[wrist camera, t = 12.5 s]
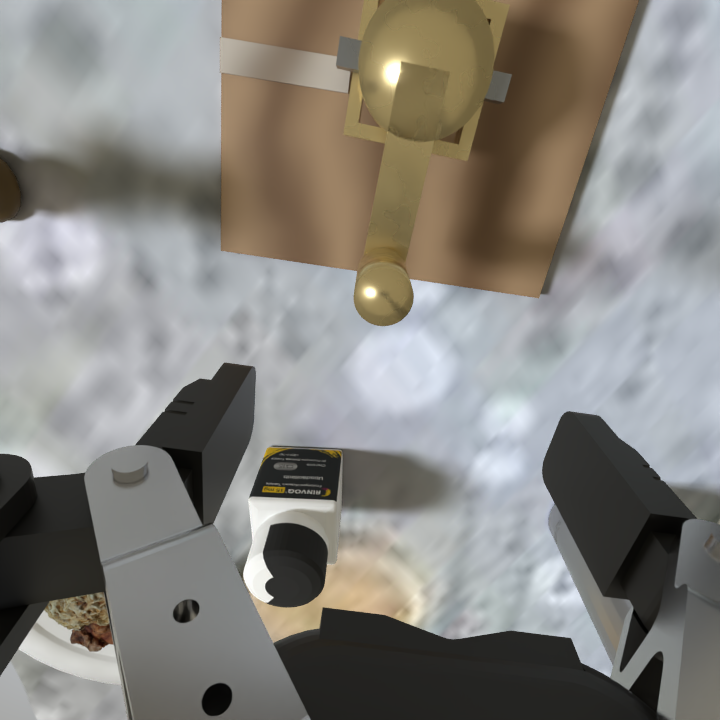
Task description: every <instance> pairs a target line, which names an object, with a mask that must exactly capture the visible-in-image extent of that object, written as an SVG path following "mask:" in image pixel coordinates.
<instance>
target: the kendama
mask: <svg viewBox="0 0 720 720" xmlns="http://www.w3.org/2000/svg"><path fill="white" fill-rule="evenodd" d="M20 204H21V192H20V189H19V185H18V182H17V179H16V176H15V175H14V173H13V172H12V171H11V169H10V168H9V166H8V165H7V163H6V162H4V161H3V160H2V159H0V222H5V221H7V220H9V219H12V218H14V217H15V216H16V214H17V212H18V210H19V208H20Z"/></svg>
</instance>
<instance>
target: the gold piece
mask: <svg viewBox="0 0 720 720" xmlns="http://www.w3.org/2000/svg"><path fill="white" fill-rule="evenodd" d="M379 6H380V7H379ZM509 6H510V5H509V4H504V3H500V2H496V1H491V0H364V3H363V9H362V16H361V22H360V29H359V35H358V40H356V39H352V38H347V37H343V36H340V39H339V46H338V53H337V61H336V67H337V69H341V70H346V71H350V72H353V75H352V81H351V88H350V94H349V101H348V107H347V114H346V120H345V127H344V133H343V135H345V136H349V137H353V138H358V139H363V140H367V141H372V142H377V143H382V144H385V145H384V151H383V156H382V161H381V166H380V171H379V177H378V182H377V187H376V192H375V197H374V203H373V208H372V213H371V218H370V223H369V229H368V234H367V239H366V244H365V249H364V255H363V257H362V258H361V260H360V262H359V265H358V270H357V277H356V283H355V290H354V304H355V307H356V310H357V311H358V313H359V314H360V316H361V317H362V318H363V319H364V320H366V321H367V322H369V323H371V324H374V325H378V326H389V325H393V324H395V323H397V322H399V321H401V320H402V319H403V318H404V317H406V315H407V314H408V313H409V311H410V309H411V307H412V304H413V297H414V296H413V289H412V286H411V282H410V279H409V275H408V271H407V268H406V264H405V262H406V258H407V254H408V250H409V245H410V241H411V237H412V233H413V228H414V224H415V220H416V216H417V211H418V207H419V203H420V199H421V194H422V190H423V186H424V182H425V178H426V173H427V169H428V165H429V161H430V156H431V154H433V155H438V156H443V157H448V158H452V159H457V160H463V161H468V157H469V154H470V150H471V146H472V143H473V139H474V135H475V132H476V128H477V124H478V120H479V117H480V113H481V109H482V106H483V102H484V101H486V102H491V103H495V104H501V103H504V101H505V97H506V94H507V90H508V87H509V83H510V80H511V76H512V74H508V73H503V72H499V71H494V70H493V69H494V61H495V58H496V54H497V50H498V47H499V43H500V39H501V36H502V32H503V28H504V25H505V21H506V17H507V14H508V10H509ZM363 101H364V102H365V104H366V107H367V109H368V111H369V113H370V115H371V116H372V117H373V119H374V120H375V122H376V123H377V124H378V125H379V126H380V127H381V128H380V127H375V126H370V125H366V124H361V123H360V119H361V113H362V107H363ZM454 132H456V135H455V139H454V143H450V142H445V141H440V140H439V139H442V138H444V137H447V136H449V135H451V134H453V133H454Z"/></svg>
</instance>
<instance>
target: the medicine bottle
mask: <svg viewBox="0 0 720 720" xmlns="http://www.w3.org/2000/svg"><path fill="white" fill-rule="evenodd" d="M342 462H343V453H342V451H341V450H337V449H314V448H290V447H268V448H267V450H266V453H265V455H264V458H263V461H262V464H261V466H260V469H259V472H258V475H257V477H256V480H255V483H254V486H253V488H252V491H251V494H250V497H249V500H248V502H249V511H250V520H251V530H252V539H253V543H252V546H251V549H250V552H249V556H248V559H247V562H246V565H245V568H244V573H243V575H244V581H245V583H246V585H247V587H248V589H249V590H250V592H251V593H252V594H253V595H254V596H255V597H256V598H258V599H259V600H261V601H263V602H265V603H267V604H270V605H273V606H278V607H297V606H301V605H304V604H307V603H309V602H310V601H312V600H313V599H315V598H316V597H317V596H318V595H319V594H320V593H321V591H322V590H323V588H324V584H325V576H326V567H327V564H335V563H336V561H337V552H338V542H339V531H340V520H341V509H342Z"/></svg>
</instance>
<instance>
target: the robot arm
mask: <svg viewBox="0 0 720 720" xmlns="http://www.w3.org/2000/svg"><path fill="white" fill-rule="evenodd" d="M255 382H256V371H255V367H253V366H246V365H238V364H231V363H224V364H223V365H222V366H221V367H220V369H219V370H218V372H217V373H216V374H215V376H214V377H213V378H212V380H207V379H198V380H197V381H195V382H193V383H191V384H189V385H187V386H185V387H183V388H182V390H181V391H180V392H179V393H178V394H177V396H176V397H175V398H174V399H173V402H171V403H170V404H169V405H168V406H167V408H166V409H165V412H162V414H161V415H160V416H159V417H158V418H157V420H156V421H155V422H154V423H153V424H152V426H151V427H150V428H149V429H148V430H147V432H146V433H145V434H144V435H143V436H142V438H141V439H140V440H139V441H138V442H137V444H136V445H135V446H127V447H122V448H119V449H115V450H113V451H110V452H108V453H106V454H104V455H102V456H101V457H99V458H97V459H96V460H95V461H94V462H93V463H92V464H91V465H90V466H89V467H88V469H87V471H86V473H80V474H71V475H59V476H48V477H37V478H34V477H33V472H32V468H31V465H30V463H29V462H28V461H27V460H26V459H24V458H22V457H19V456H16V455H10V454H0V675H1V674H2V672H3V671H4V669H5V668H6V666H7V665H8V663H9V662H10V660H11V659H12V657H13V656H14V654H15V653H16V651H17V650H18V648H19V647H20V645H21V644H22V642H23V641H24V639H25V638H26V636H27V635H28V633H29V632H30V630H31V629H32V627H33V626H34V624H35V623H36V621H37V620H38V618H39V617H40V615H41V614H42V612H43V611H44V609H45V608H46V606H47V605H48V603H49V601H53V600H59V599H65V598H71V597H77V596H83V595H88V594H94V593H100V592H103V593H104V598H105V603H106V608H107V613H108V618H109V624H110V629H111V634H112V639H113V644H114V649H115V654H116V659H117V665H118V670H119V675H120V680H121V685H122V691H123V696H124V702H125V707H126V713H127V718H128V720H720V525H719V524H717V523H714V522H711V521H707V520H702V519H697V518H696V517H695V516H694V515H693V514H692V512H691V511H690V510H689V509H688V508H687V507H686V506H685V505H684V503H683V502H682V501H681V500H680V499H679V498H678V497H677V496H676V494H675V493H674V492H673V491H672V490H671V489H670V488H669V487H668V485H667V484H666V483H665V482H664V481H661V480H660V476H659V475H658V474H657V473H656V472H655V471H654V470H653V469H652V468H650V467H649V466H650V465H649V464H648V463H647V462H646V461H645V460H644V458H643V457H642V456H641V455H640V454H639V453H638V452H637V451H636V450H635V449H633V448H632V447H631V446H629V445H628V444H626V443H625V442H624V441H622V440H621V439H619V438H618V436H617V435H616V434H615V433H614V432H613V431H612V430H611V428H610V427H609V426H608V425H607V424H606V423H605V421H604V420H603V419H602V418H601V417H600V416H597V415H591V414H584V413H577V412H570V411H569V412H566V413H564V414H563V415H562V417H561V419H560V421H559V423H558V426H557V428H556V431H555V433H554V436H553V438H552V441H551V443H550V446H549V448H548V451H547V453H546V456H545V458H544V461H543V468H542V474H543V480H544V483H545V485H546V487H547V489H548V491H549V493H550V495H551V497H552V499H553V501H554V503H555V504H554V506H553V508H552V509H551V511H550V515H549V528H550V531H551V534H552V536H553V538H554V540H555V542H556V544H557V546H558V549H559V551H560V553H561V555H562V557H563V559H564V562H565V564H566V566H567V568H568V570H569V573H570V575H571V577H572V579H573V581H574V583H575V585H576V588H577V590H578V592H579V594H580V596H581V598H582V600H583V603H584V605H585V607H586V609H587V611H588V613H589V615H590V618H591V620H592V622H593V624H594V626H595V628H596V630H597V633H598V635H599V637H600V639H601V641H602V643H603V645H604V647H605V650H606V652H607V654H608V656H609V658H610V660H611V662H612V665H613V669H612V673H611V677H610V678H609V677H608V676H606V675H604V674H603V673H601V672H599V671H597V670H595V669H593V668H591V667H589V666H587V665H584V664H582V663H581V662H580V659H579V657H578V655H577V652H576V650H575V647H574V645H573V642H572V640H571V638H565V637H557V636H549V635H541V634H533V633H525V632H517V631H506V632H500V633H494V634H487V635H481V636H475V637H469V638H462V639H454V640H452V639H446V638H443V637H441V636H438V635H435V634H433V633H430V632H427V631H425V630H422V629H420V628H417V627H414V626H412V625H409V624H406V623H404V622H401V621H399V620H396V619H393V618H391V617H388V616H386V615H379V614H371V613H363V612H355V611H347V610H339V609H331V608H323V610H322V616H321V622H320V629H314V630H308V631H304V632H301V633H298V634H294V635H291V636H288V637H286V638H284V639H281V640H279V641H277V642H275V643H273V642H272V640H271V638H270V636H269V634H268V632H267V630H266V628H265V626H264V624H263V622H262V619H261V617H260V615H259V613H258V611H257V609H256V607H255V605H254V603H253V601H252V599H251V597H250V595H249V593H248V591H247V589H246V587H245V585H244V583H243V581H242V579H241V577H240V574H239V572H238V570H237V568H236V566H235V564H234V562H233V560H232V558H231V556H230V554H229V552H228V550H227V548H226V546H225V544H224V542H223V540H222V538H221V536H220V534H219V532H218V530H217V528H216V527H215V526H214V524H213V523H214V521H215V518H216V516H217V514H218V512H219V509H220V507H221V505H222V503H223V500H224V498H225V496H226V494H227V491H228V489H229V487H230V484H231V482H232V480H233V478H234V475H235V473H236V471H237V469H238V466H239V464H240V462H241V460H242V457H243V455H244V453H245V451H246V448H247V446H248V444H249V441H250V438H251V434H252V430H253V423H254V406H255Z"/></svg>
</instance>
